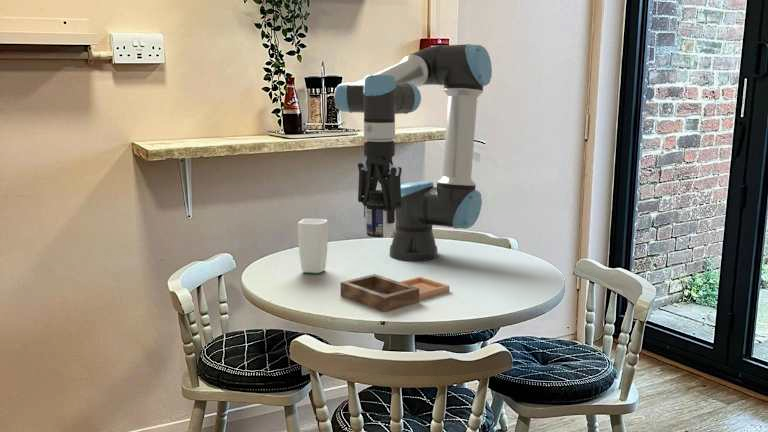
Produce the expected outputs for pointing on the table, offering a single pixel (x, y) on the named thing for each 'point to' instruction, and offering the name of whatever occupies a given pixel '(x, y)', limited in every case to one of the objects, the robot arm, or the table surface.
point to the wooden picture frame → (363, 293)
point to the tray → (427, 287)
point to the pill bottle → (375, 213)
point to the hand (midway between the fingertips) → (379, 233)
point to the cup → (313, 244)
